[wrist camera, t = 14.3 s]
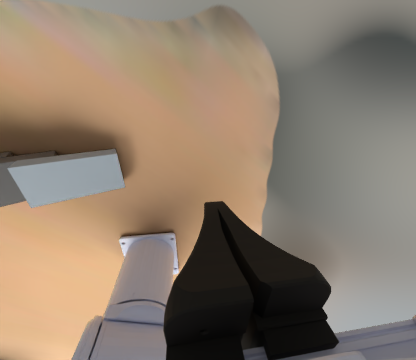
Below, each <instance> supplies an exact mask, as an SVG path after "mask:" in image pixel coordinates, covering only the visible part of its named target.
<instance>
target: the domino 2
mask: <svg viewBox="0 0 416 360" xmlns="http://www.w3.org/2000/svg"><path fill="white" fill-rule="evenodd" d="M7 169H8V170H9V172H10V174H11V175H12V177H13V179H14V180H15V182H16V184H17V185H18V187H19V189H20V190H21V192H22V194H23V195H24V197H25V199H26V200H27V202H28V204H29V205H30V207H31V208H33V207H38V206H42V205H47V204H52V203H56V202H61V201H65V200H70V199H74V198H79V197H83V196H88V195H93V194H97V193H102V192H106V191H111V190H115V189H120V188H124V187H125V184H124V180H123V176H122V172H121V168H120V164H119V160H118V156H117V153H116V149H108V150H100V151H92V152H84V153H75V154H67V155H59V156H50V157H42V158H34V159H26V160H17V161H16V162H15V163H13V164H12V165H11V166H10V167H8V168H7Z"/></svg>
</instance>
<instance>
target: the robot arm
mask: <svg viewBox="0 0 416 360" xmlns="http://www.w3.org/2000/svg"><path fill="white" fill-rule="evenodd" d="M119 242H120V245H121V249H122V252H123V255H124V261H123V264H122V266H121V269H120V272H119V275H118V277H117V280H116V283H115V286H114V289H113V291H112V294H111V297H110V300H109V303H108V305H107V308H106V311H105V313H104V315H103V317H102V316H98V315H97V316H95V317H94V319H92V320H91V321H89V322H88V323H87V325H86V327H85V329H84V332H83V334H82V336H81V339H80V341H79V343H78V346H77V348H76V350H75V353H74V355H73V357H72V360H416V315H415V316H414V317H413V319H411V320H405V321H400V322H395V323H389V324H383V325H378V326H372V327H367V328H361V329H356V330H350V331H345V332H339V333H334V332H333V331H332V329H331V328H330V326H329V325H328V323H327V321H326V320H327V318H328V317H327V315H326V313H325V312H324V310H323V309H322V307H323V305H324V304H325V302H326V301H327V299H328V298H329V295H330V293H331V286H330V285H329V283H328V282H327V281H326V279H325V278H324V277H323V275H322V274H321V273H320V271H319V270H318V269H317V268H316V267H315V266H314V265H313V264H310V263H308V262H306V261H304V260H302V259H299V258H297V257H295V256H293V255H291V254H289V253H287V252H285V251H284V250H282V249H280V248H278V247H276V246H275V245H273V244H272V243H270V242H268V241H267V240H265V239H264V238H262V237H261V236H259V235H258V234H257V233H255V232H254V231H253V230H251V229H250V228H249V227H248V226H247V225H246V224H244V223H243V222H242V221H241V220H240V219H239V218H238V217H237V216H236V215H235V214H234V213H233V212H232V211H231V210H230V209H229V207H228V206H227V205H226V204H225V203H224V202H223V201H220V202H206V203H205V204H204V220H203V224H202V228H201V231H200V234H199V237H198V239H197V242H196V244H195V246H194V249H193V251H192V253H191V255H190V257H189V258H188V260H187V262H186V264H185V266H184V267H183V269H182V270H181V272H180V273H179V268H178V258H177V248H176V238H175V234H174V233H161V234H150V235H138V236H126V237H121V238H120V239H119ZM123 242H124V243H123ZM177 273H179V275H178V276H177V278H176V279H175V281H174V283H173V274H177ZM172 285H173V286H172Z"/></svg>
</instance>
